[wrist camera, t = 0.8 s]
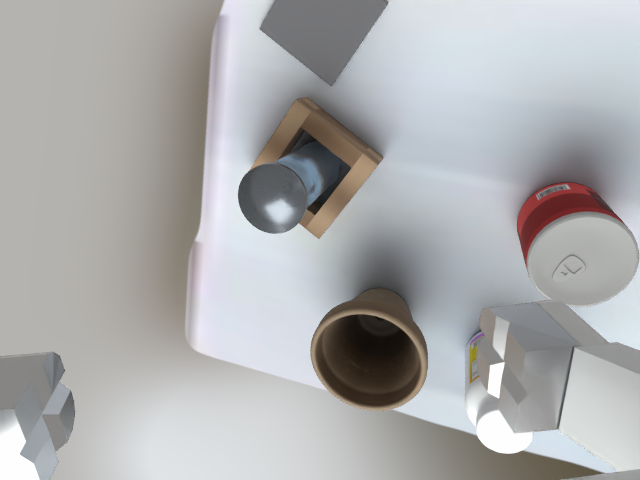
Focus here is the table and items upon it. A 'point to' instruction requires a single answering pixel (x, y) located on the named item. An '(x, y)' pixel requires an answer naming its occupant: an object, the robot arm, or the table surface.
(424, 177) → the table surface
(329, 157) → the plunger
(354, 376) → the flower pot
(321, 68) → the mat
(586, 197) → the canned food
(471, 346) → the supplement bottle
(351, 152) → the bore block
